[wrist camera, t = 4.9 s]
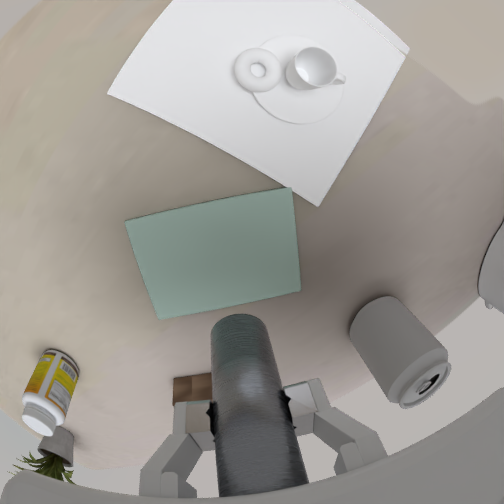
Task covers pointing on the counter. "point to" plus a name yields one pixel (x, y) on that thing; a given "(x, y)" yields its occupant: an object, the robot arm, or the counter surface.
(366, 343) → the can
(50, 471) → the house plant
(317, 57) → the teacup and saucer
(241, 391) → the pin
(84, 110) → the counter surface
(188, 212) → the mat
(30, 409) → the supplement bottle
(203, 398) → the hole block
